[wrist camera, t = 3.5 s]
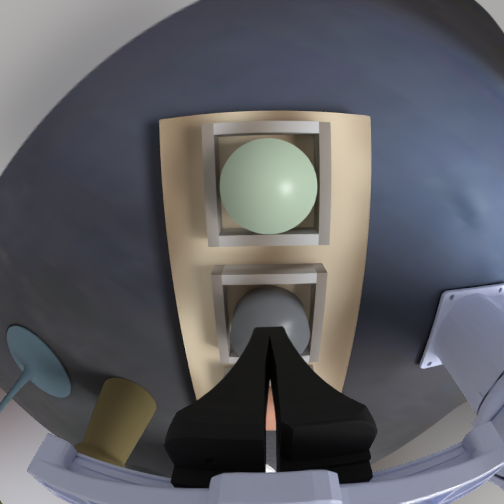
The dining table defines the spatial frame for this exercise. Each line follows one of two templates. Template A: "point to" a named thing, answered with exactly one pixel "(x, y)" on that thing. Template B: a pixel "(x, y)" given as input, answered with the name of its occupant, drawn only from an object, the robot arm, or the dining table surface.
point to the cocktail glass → (35, 365)
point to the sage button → (268, 186)
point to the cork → (117, 421)
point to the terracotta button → (270, 412)
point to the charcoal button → (269, 317)
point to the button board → (266, 235)
